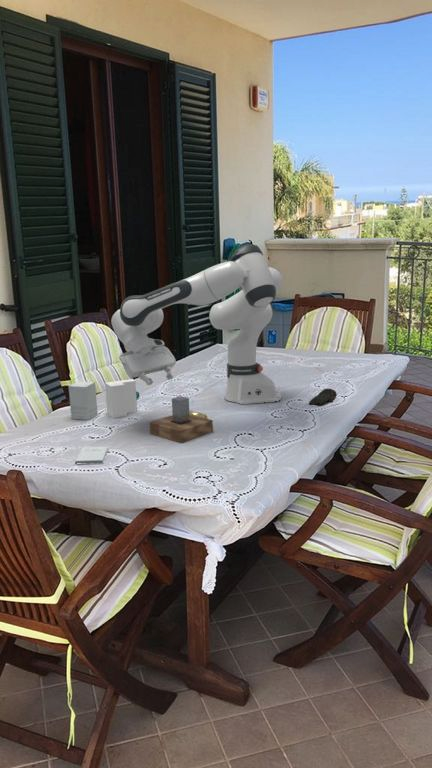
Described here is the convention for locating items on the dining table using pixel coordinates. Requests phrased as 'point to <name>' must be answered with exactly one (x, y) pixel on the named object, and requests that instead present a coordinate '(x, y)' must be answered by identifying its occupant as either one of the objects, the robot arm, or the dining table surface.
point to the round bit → (198, 414)
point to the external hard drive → (92, 455)
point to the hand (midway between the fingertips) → (160, 381)
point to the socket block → (181, 428)
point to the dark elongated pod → (323, 397)
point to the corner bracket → (121, 398)
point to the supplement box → (83, 400)
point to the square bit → (180, 410)
